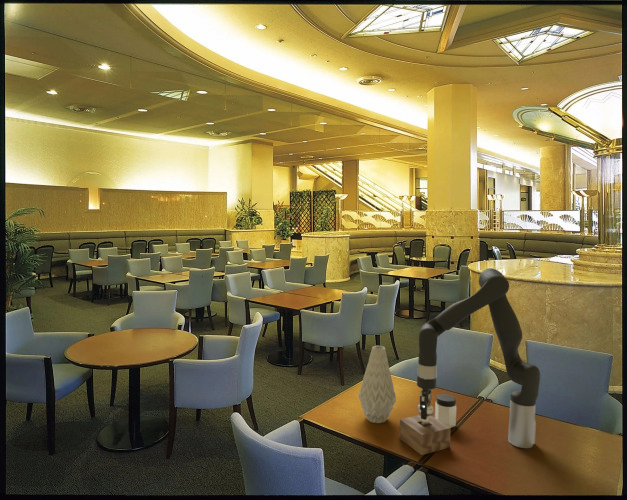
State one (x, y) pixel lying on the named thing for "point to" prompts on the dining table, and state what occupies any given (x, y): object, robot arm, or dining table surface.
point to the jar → (446, 409)
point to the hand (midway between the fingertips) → (425, 415)
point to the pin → (429, 413)
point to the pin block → (424, 434)
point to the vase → (377, 387)
